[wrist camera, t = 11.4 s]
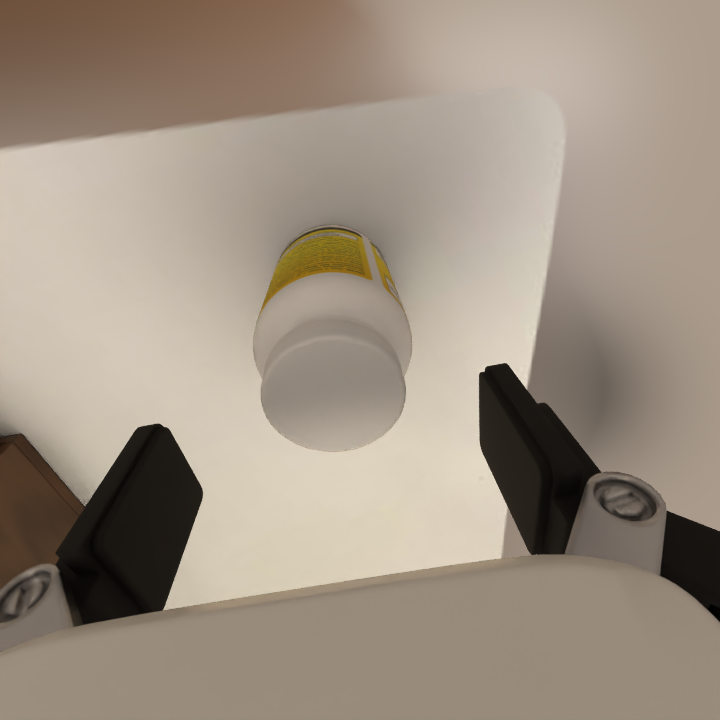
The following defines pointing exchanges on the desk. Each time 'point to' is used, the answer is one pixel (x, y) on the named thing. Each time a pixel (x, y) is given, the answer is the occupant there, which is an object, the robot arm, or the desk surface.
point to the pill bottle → (332, 342)
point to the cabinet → (31, 509)
